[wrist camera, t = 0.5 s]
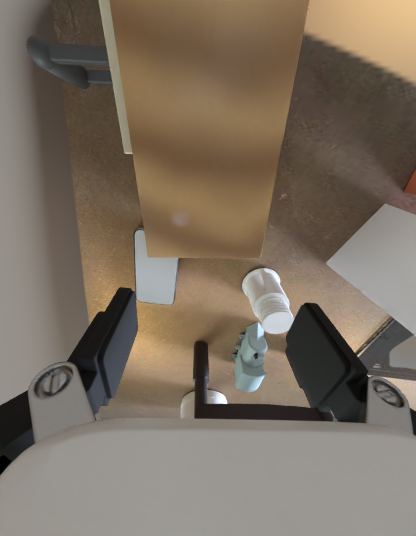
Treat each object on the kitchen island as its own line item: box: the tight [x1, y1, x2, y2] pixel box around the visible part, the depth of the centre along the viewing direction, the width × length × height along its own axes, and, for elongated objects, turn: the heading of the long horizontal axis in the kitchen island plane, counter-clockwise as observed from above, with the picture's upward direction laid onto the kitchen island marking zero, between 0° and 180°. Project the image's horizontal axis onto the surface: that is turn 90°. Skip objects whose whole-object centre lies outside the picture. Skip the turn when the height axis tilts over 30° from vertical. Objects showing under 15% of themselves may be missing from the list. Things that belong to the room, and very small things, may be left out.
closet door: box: [27, 0, 132, 154], centre depth 17 cm, size 8×7×11 cm
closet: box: [109, 0, 309, 258], centre depth 19 cm, size 16×12×14 cm
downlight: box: [242, 268, 294, 334], centre depth 32 cm, size 8×7×10 cm
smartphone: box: [134, 228, 179, 305], centre depth 34 cm, size 7×1×15 cm
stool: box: [193, 322, 334, 422], centre depth 37 cm, size 16×21×33 cm
